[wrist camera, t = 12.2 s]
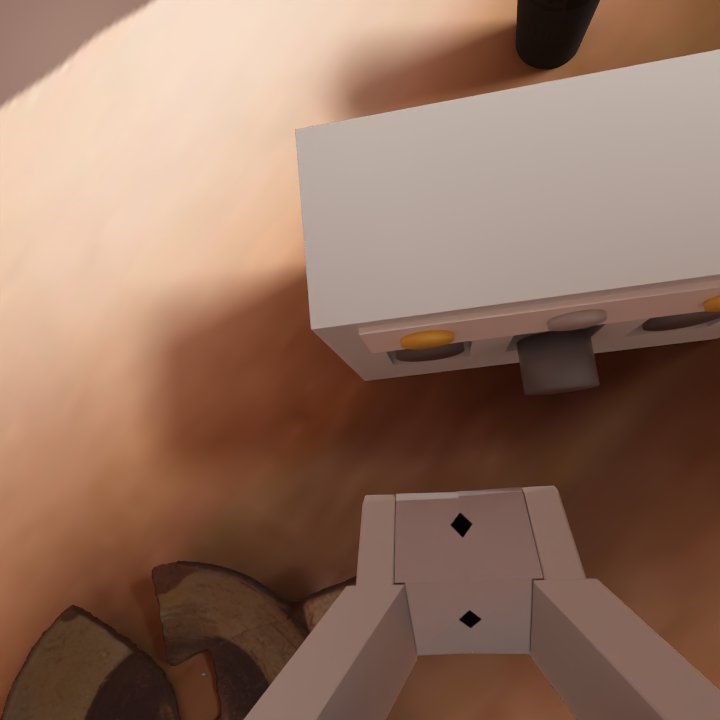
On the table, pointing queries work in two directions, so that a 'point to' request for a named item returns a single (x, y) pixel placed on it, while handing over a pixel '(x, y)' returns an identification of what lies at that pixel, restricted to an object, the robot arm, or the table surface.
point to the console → (517, 218)
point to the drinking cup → (551, 30)
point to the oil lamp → (167, 649)
